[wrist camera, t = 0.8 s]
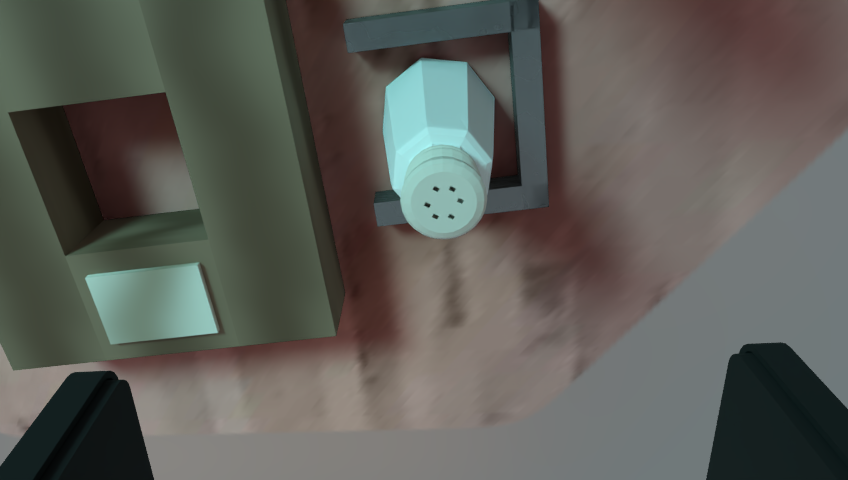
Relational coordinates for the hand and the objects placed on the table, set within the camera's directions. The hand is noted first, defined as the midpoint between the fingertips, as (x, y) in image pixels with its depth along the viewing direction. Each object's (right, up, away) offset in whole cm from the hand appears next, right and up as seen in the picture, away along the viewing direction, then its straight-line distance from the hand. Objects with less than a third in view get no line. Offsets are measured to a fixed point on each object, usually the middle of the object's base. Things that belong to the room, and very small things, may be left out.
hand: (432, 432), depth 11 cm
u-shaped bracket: (+1, +9, +21) cm, 23 cm away
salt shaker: (+1, +9, +21) cm, 23 cm away
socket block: (-13, +7, +22) cm, 26 cm away
